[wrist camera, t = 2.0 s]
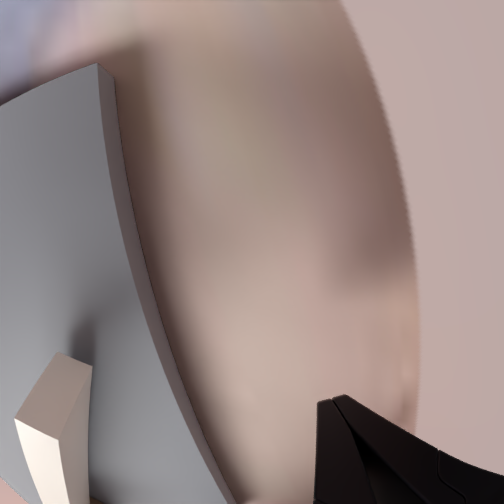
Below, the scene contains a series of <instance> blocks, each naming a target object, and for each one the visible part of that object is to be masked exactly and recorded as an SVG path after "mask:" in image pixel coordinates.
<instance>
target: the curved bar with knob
mask: <svg viewBox="0 0 504 504" xmlns="http://www.w3.org/2000/svg"><path fill="white" fill-rule="evenodd" d="M92 368H93V366H90V365H88V364H85V363H83V362H80V361H78V360H76V359H73V358H71V357H69V356H66V355H64V354H62V353H60V352H57V353H56V354H55V356H54V357H53V359H52V360H51V361H50V363H49V364H48V366H47V367H46V369H45V370H44V372H43V373H42V375H41V376H40V378H39V379H38V381H37V382H36V384H35V385H34V387H33V388H32V390H31V391H30V393H29V395H28V396H27V398H26V399H25V401H24V403H23V404H22V406H21V407H20V409H19V411H18V412H17V414H16V416H15V417H14V420H15V424H16V428H17V431H18V435H19V439H20V442H21V446H22V449H23V452H24V456H25V459H26V462H27V465H28V468H29V470H30V473H31V476H32V479H33V481H34V484H35V486H36V489H37V491H38V494H39V496H40V498H41V501H42V503H43V504H104V503H102V502H100V501H98V500H96V499H94V498H92V497H89V480H88V421H89V402H90V389H91V378H92Z"/></svg>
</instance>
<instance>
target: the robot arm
mask: <svg viewBox="0 0 504 504" xmlns="http://www.w3.org/2000/svg"><path fill="white" fill-rule="evenodd" d="M313 504H504V476H503V475H500V474H496V473H493V472H490V471H487V470H484V469H481V468H478V467H476V466H473V465H470V464H468V463H465V462H463V461H460V460H459V459H457V458H454V457H452V456H450V455H448V454H447V453H445V452H443V451H441V450H438V449H437V448H435V447H433V446H431V445H430V444H428V443H426V442H424V441H422V440H421V439H419V438H417V437H416V436H414V435H412V434H410V433H409V432H407V431H405V430H403V429H402V428H400V427H398V426H397V425H395V424H393V423H391V422H390V421H388V420H386V419H385V418H383V417H382V416H380V415H378V414H377V413H375V412H373V411H372V410H370V409H368V408H367V407H365V406H364V405H362V404H360V403H359V402H357V401H356V400H354V399H353V398H351V397H349V396H348V395H345V394H343V395H340V396H336V397H333V398H332V399H326V400H322V401H319V402H317V430H316V462H315V482H314V501H313Z"/></svg>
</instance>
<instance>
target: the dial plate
mask: <svg viewBox="0 0 504 504" xmlns="http://www.w3.org/2000/svg"><path fill="white" fill-rule="evenodd" d="M57 352H60V353H62V354H64V355H66V356H69V357H71V358H73V359H76V360H78V361H80V362H83V363H85V364H88V365H90V366H93V368H92V378H91V389H90V402H89V421H88V480H89V497H92V498H94V499H96V500H98V501H100V502H102V503H104V504H237V503H236V501H235V500H234V498H233V496H232V494H231V492H230V490H229V488H228V486H227V484H226V482H225V480H224V478H223V476H222V474H221V472H220V470H219V468H218V465H217V463H216V461H215V459H214V457H213V455H212V453H211V450H210V448H209V446H208V444H207V441H206V439H205V437H204V434H203V432H202V430H201V427H200V425H199V423H198V420H197V418H196V415H195V413H194V411H193V408H192V406H191V403H190V400H189V398H188V395H187V393H186V390H185V387H184V385H183V382H182V379H181V377H180V374H179V371H178V368H177V366H176V363H175V360H174V357H173V354H172V351H171V348H170V345H169V342H168V339H167V336H166V333H165V330H164V327H163V323H162V320H161V317H160V314H159V310H158V307H157V304H156V300H155V297H154V293H153V290H152V286H151V282H150V279H149V275H148V271H147V267H146V263H145V260H144V256H143V251H142V247H141V243H140V239H139V235H138V230H137V226H136V221H135V216H134V212H133V207H132V202H131V197H130V192H129V186H128V181H127V175H126V169H125V163H124V157H123V151H122V144H121V137H120V130H119V122H118V113H117V104H116V95H115V84H114V77H113V76H112V75H111V74H110V73H109V72H107V71H106V70H105V69H104V68H103V67H102V66H101V65H99V64H98V63H94V64H92V65H89V66H86V67H83V68H81V69H78V70H75V71H73V72H70V73H68V74H65V75H63V76H61V77H58V78H56V79H54V80H51V81H49V82H47V83H45V84H42V85H40V86H38V87H36V88H34V89H32V90H30V91H28V92H26V93H24V94H22V95H20V96H18V97H16V98H14V99H12V100H11V101H9V102H7V103H5V104H3V105H2V106H0V477H1V478H2V479H3V480H4V481H5V482H6V483H7V484H8V485H9V486H10V487H11V488H12V489H13V490H14V491H15V492H16V493H17V494H19V495H20V496H21V497H22V498H23V499H24V500H25V501H26V502H28V503H29V504H43V503H42V501H41V498H40V496H39V494H38V491H37V489H36V486H35V484H34V481H33V479H32V476H31V473H30V470H29V468H28V465H27V462H26V459H25V456H24V452H23V449H22V446H21V442H20V439H19V435H18V431H17V428H16V424H15V420H14V417H15V416H16V414H17V412H18V411H19V409H20V407H21V406H22V404H23V403H24V401H25V399H26V398H27V396H28V395H29V393H30V391H31V390H32V388H33V387H34V385H35V384H36V382H37V381H38V379H39V378H40V376H41V375H42V373H43V372H44V370H45V369H46V367H47V366H48V364H49V363H50V361H51V360H52V359H53V357H54V356H55V354H56V353H57Z"/></svg>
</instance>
